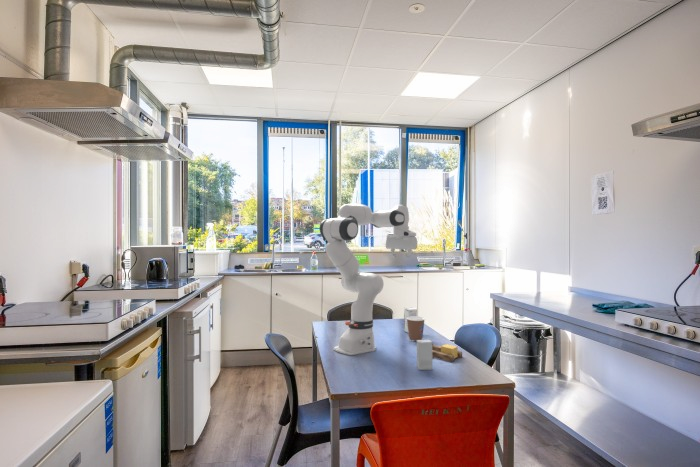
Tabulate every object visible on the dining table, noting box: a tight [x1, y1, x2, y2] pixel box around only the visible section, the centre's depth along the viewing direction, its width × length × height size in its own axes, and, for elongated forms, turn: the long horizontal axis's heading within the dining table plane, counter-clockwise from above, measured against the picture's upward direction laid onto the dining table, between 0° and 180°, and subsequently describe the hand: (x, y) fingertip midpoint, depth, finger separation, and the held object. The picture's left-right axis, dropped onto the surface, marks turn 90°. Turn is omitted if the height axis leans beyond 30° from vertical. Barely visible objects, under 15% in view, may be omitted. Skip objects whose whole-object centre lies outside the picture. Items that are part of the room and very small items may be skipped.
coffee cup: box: [407, 315, 426, 342], centre depth 206 cm, size 10×10×12 cm
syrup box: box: [403, 307, 418, 334], centre depth 223 cm, size 6×6×14 cm
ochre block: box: [441, 343, 459, 360], centre depth 175 cm, size 6×5×5 cm
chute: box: [432, 342, 463, 363], centre depth 179 cm, size 17×11×3 cm, turn 46°
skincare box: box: [416, 339, 433, 371], centre depth 160 cm, size 6×4×12 cm
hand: (400, 257), depth 211 cm, fingers open, 8 cm apart
